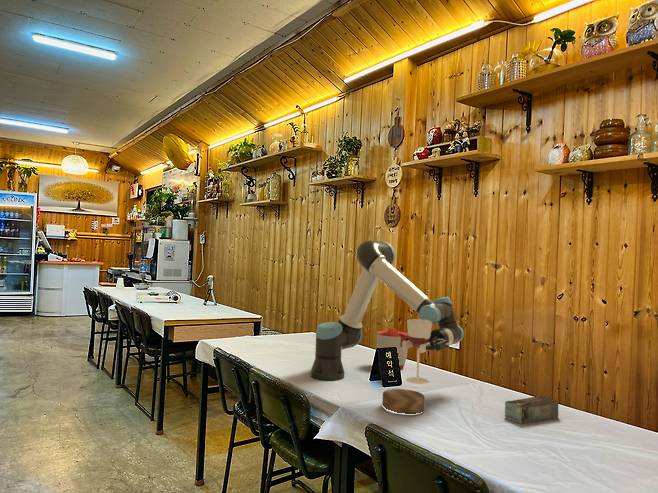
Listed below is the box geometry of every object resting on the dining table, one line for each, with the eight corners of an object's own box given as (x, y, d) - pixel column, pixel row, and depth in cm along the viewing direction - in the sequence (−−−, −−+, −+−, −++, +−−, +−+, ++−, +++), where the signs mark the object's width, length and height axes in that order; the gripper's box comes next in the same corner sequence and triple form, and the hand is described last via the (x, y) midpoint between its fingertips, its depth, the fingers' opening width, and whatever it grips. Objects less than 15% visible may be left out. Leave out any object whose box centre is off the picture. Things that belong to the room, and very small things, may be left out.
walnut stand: (389, 416, 168) (389, 401, 168) (377, 402, 183) (377, 389, 183) (430, 415, 170) (431, 401, 170) (415, 402, 185) (416, 388, 185)
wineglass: (433, 379, 182) (435, 320, 181) (424, 385, 173) (426, 324, 173) (411, 375, 186) (413, 318, 186) (401, 381, 178) (403, 321, 177)
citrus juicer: (398, 374, 227) (399, 331, 228) (368, 367, 239) (370, 326, 239) (416, 369, 239) (417, 328, 239) (387, 362, 251) (388, 323, 251)
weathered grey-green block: (503, 417, 172) (503, 398, 172) (540, 411, 180) (541, 393, 181) (521, 425, 165) (522, 405, 165) (559, 418, 173) (560, 399, 173)
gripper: (463, 352, 188) (436, 362, 170) (418, 343, 200) (388, 353, 182) (463, 332, 187) (436, 341, 169) (418, 325, 199) (389, 333, 181)
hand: (411, 347), depth 175 cm, fingers closed on wineglass, 6 cm apart
